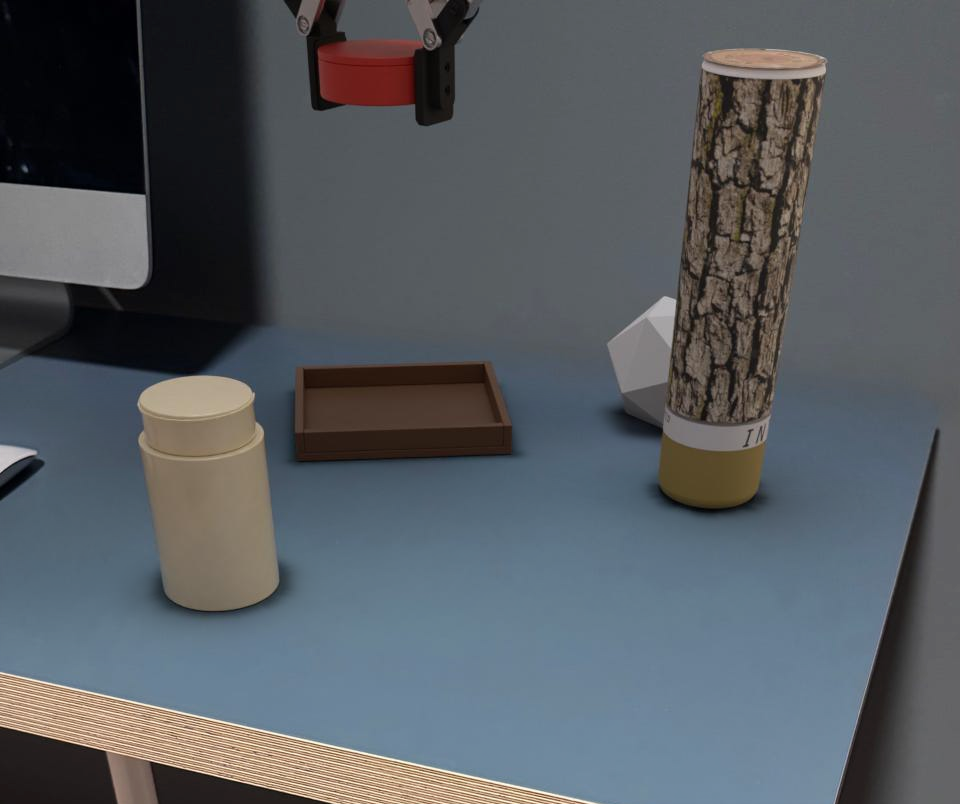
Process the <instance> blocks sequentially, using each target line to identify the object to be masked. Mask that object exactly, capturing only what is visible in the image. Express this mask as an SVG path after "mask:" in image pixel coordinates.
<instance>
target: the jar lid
mask: <svg viewBox="0 0 960 804" xmlns="http://www.w3.org/2000/svg"><path fill="white" fill-rule="evenodd" d="M421 48H423V44H422V42H421V41H420V40H419V41H418V40H409V39H394V38H393V39H390V38H389V39H387V38H386V39H384V38H381V39H379V38H378V39H377V38H374V39H373V38H372V39H369V38H368V39H352V40H351V39H350V40H347V41H342V42H335V43H330V44H326V45H323V46H321V47H319V48H318V63H319V78H320V93H321V97H322V98H324V99H325V100H327V101H331V102H335V103H340V104H346V105H345V106H359V107H400V106H411V105H415V87H414V53H415V50H416V49H421Z"/></svg>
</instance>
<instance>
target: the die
mask: <svg viewBox="0 0 960 804" xmlns="http://www.w3.org/2000/svg"><path fill="white" fill-rule="evenodd" d="M676 300H677V298H676V299H675V298H672V297H669V296H666V295H664V296H663V297H661V298H660V299H659V300H658V301H657V302H655V303H654V304H653V305H651V306H650V308H647V310H646V311H644V312H643V313H641V314H640V315H639V316H638V317H637V318H636V319H635V320H634V321H632V322H631V323H630V324H629V325H627V326H626V327H625V328H624V329H622V331H620V332H619V333H618V334H617V335H615V336H614V337H613V338H612V339H611V340H609V341H608V342H607V343H606V345H607V350H608V353H609V356H610V361H611V364H612V367H613V372H614V375H615V378H616V382H617V385H618V389H619V393H620V398H621V401H622V404H623V408H624V411H625V414H626V415H627V414H628V415H630V416H632V417H635V418H636V419H638V420H642V421H644V422H646V423H648V424H651V425H653V426H656V427H658V428H660V429H663V423H664V413H665V404H666V394H667V385H668V376H669V366H670V357H671V347H672V338H673V328H674V319H675V310H676Z"/></svg>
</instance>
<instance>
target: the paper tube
mask: <svg viewBox="0 0 960 804" xmlns="http://www.w3.org/2000/svg"><path fill="white" fill-rule="evenodd" d="M702 57H703V61H702V63H701V65H700V73H699V84H698V94H697V104H696V110H695V111H696V112H695V113H696V114H695V122H694V132H693V140H692V151H691V160H690V169H689V177H688V178H689V179H688V188H687V197H686V206H685V217H684V226H683V236H682V244H681V254H680V263H679V273H678V281H677V290H676V291H677V292H676V310H675V319H674V328H673V338H672V347H671V357H670V366H669V376H668V385H667V394H666V404H665V413H664V423H663V428H662V436H661V446H660V455H659V464H658V475H657V481H658V486H659V487H660V488H661V490H662V492H663V493H664V494H665V495H666V496H667V497H669V498H670V499H672V500H674V501H675V502H677V503H680V504H683V505H686V506H689V507H694V508H699V509H712V510H713V509H714V510H715V509H728V508H733V507H737V506H740V505H742V504H744V503H746V502H748V501H750V500H751V499H752V498H753V497H754V496H755V495H756V494H757V492H758V490H759V487H760V481H761V475H762V470H763V464H764V463H763V462H764V456H765V450H766V445H767V439H768V435H769V428H770V423H771V422H770V421H771V417H772V408H773V405H774V398H775V392H776V385H777V379H778V374H779V373H778V372H779V367H780V360H781V355H782V348H783V342H784V341H783V340H784V335H785V329H786V323H787V317H788V310H789V305H790V299H791V293H792V287H793V280H794V274H795V267H796V261H797V255H798V249H799V242H800V238H801V237H800V236H801V231H802V224H803V217H804V212H805V205H806V199H807V192H808V187H809V180H810V175H811V168H812V162H813V157H814V149H815V144H816V138H817V132H818V126H819V125H818V124H819V119H820V113H821V106H822V101H823V94H824V87H825V83H826V82H825V81H826V76H827V68H826V64H827V63H828V59H827V58H826V57H823V56H820V55H819V54H813V53H808V52H803V51H795V50H788V49H787V50H786V49H774V48H773V49H771V48H729V49H718V50H712V51H708V52H706V53H704V54H703V55H702Z"/></svg>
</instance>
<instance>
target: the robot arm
mask: <svg viewBox="0 0 960 804" xmlns="http://www.w3.org/2000/svg"><path fill="white" fill-rule="evenodd" d="M283 2H284V4H285V5H286V7H287V8H288V9H289V11H290V12H291V14H292V16H293V17H294V18H295V28H296V30H297V32H298V34H299V35H300V36H301V37H306V38H305V39H306V41H305V42H306V53H307V66H308V81H309V90H310V105H311V108H312V110H314V111H317V112H324V111H328V110H332V109H336V108H340V107H344V106H347V105H346V104H340V103H335V102H331V101H327V100H325V99H324V98H322V97H321V93H320V78H319V63H318V48H319V47H321V46H323V45H326V44H330V43H335V42H342V41H348V39H347V37H346V31H341V30H338V26H339V23H340V20H341V18H342V15H343V12H344V9H345V6H346V3H347V0H283ZM483 2H484V0H404V3H405V6H406V7H407V10H408V13H409V15H410V17H411V20H412V22H413V24H414V27H415V29H416V32H417V34H418V37H419V40H420V42H422V44H423V48H421V49H416V50H415V53H414V87H415V104H414V117H415V122H416V123H417V125H419V127H420V126H421V127H430V126H434V125H437V124H441V123H444V122H448V121H451V120H452V119H453V117H454V104H455V102H456V51H455V49H456V46H457V45H460V44H461V43H462V42H463V40H464V37H465V32H466V31H467V30H468V28H469V27H470V26H471V24H472V23H473V21H474V20H475V18H476V17H477V16H478V14H479V12H480V5H481V4H482V3H483Z"/></svg>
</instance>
